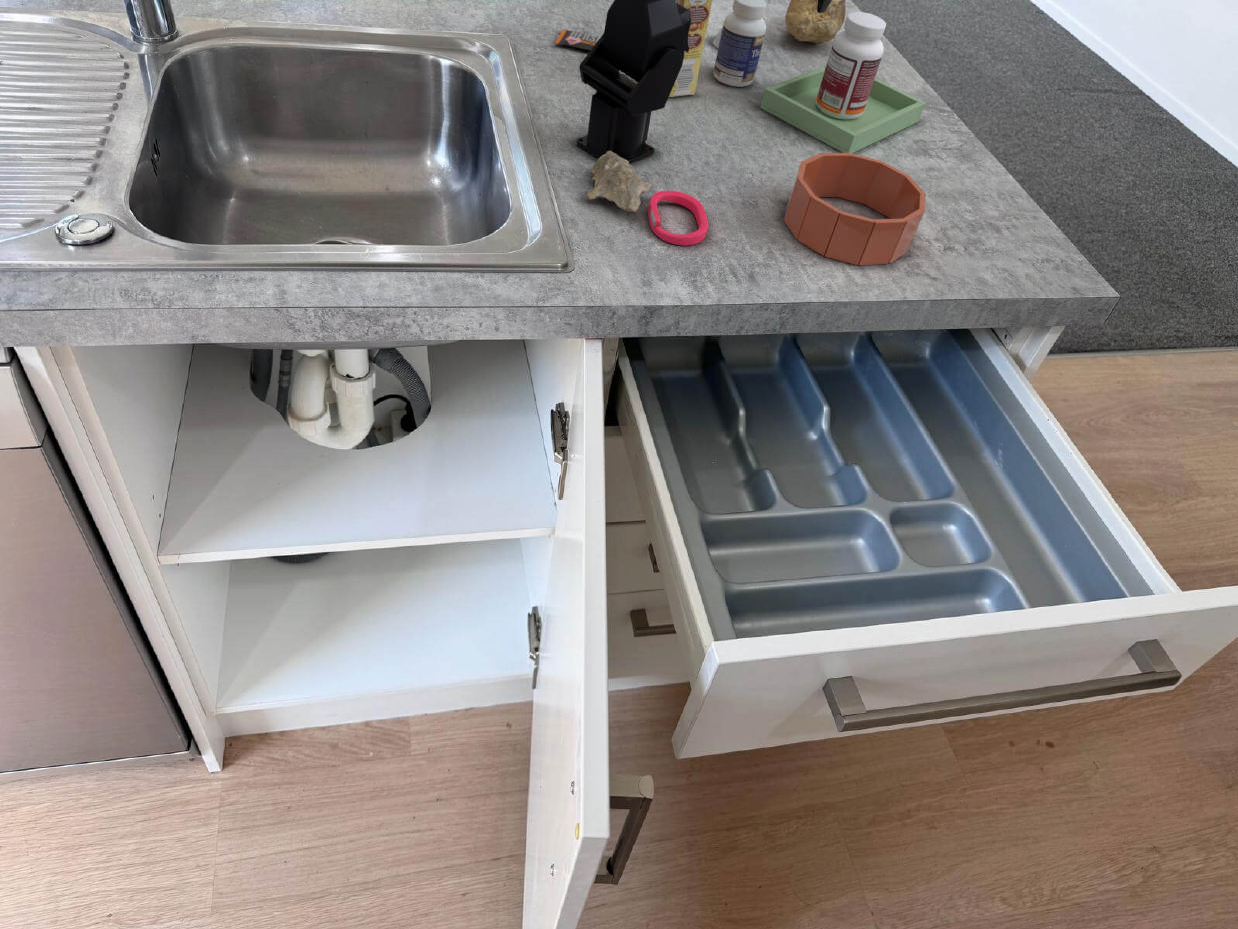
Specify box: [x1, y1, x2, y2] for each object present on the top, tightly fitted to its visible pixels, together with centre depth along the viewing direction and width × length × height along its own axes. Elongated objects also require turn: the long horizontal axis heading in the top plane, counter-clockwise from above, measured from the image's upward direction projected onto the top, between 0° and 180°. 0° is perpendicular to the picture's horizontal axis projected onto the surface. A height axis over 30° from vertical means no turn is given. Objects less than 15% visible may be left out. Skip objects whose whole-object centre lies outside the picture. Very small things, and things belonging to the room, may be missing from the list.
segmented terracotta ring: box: [783, 152, 927, 266], centre depth 92 cm, size 13×13×5 cm
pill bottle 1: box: [713, 0, 767, 88], centre depth 112 cm, size 5×5×10 cm
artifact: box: [585, 151, 654, 213], centre depth 91 cm, size 7×3×10 cm
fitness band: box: [647, 190, 709, 247], centre depth 89 cm, size 8×6×2 cm
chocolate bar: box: [554, 28, 601, 52], centre depth 115 cm, size 11×5×1 cm, turn 78°
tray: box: [759, 65, 927, 154], centre depth 111 cm, size 17×14×2 cm
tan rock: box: [784, 0, 846, 45], centre depth 126 cm, size 14×8×8 cm
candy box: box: [669, 0, 713, 98], centre depth 106 cm, size 9×4×15 cm, turn 26°
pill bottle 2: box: [816, 11, 887, 120], centre depth 108 cm, size 6×6×11 cm
